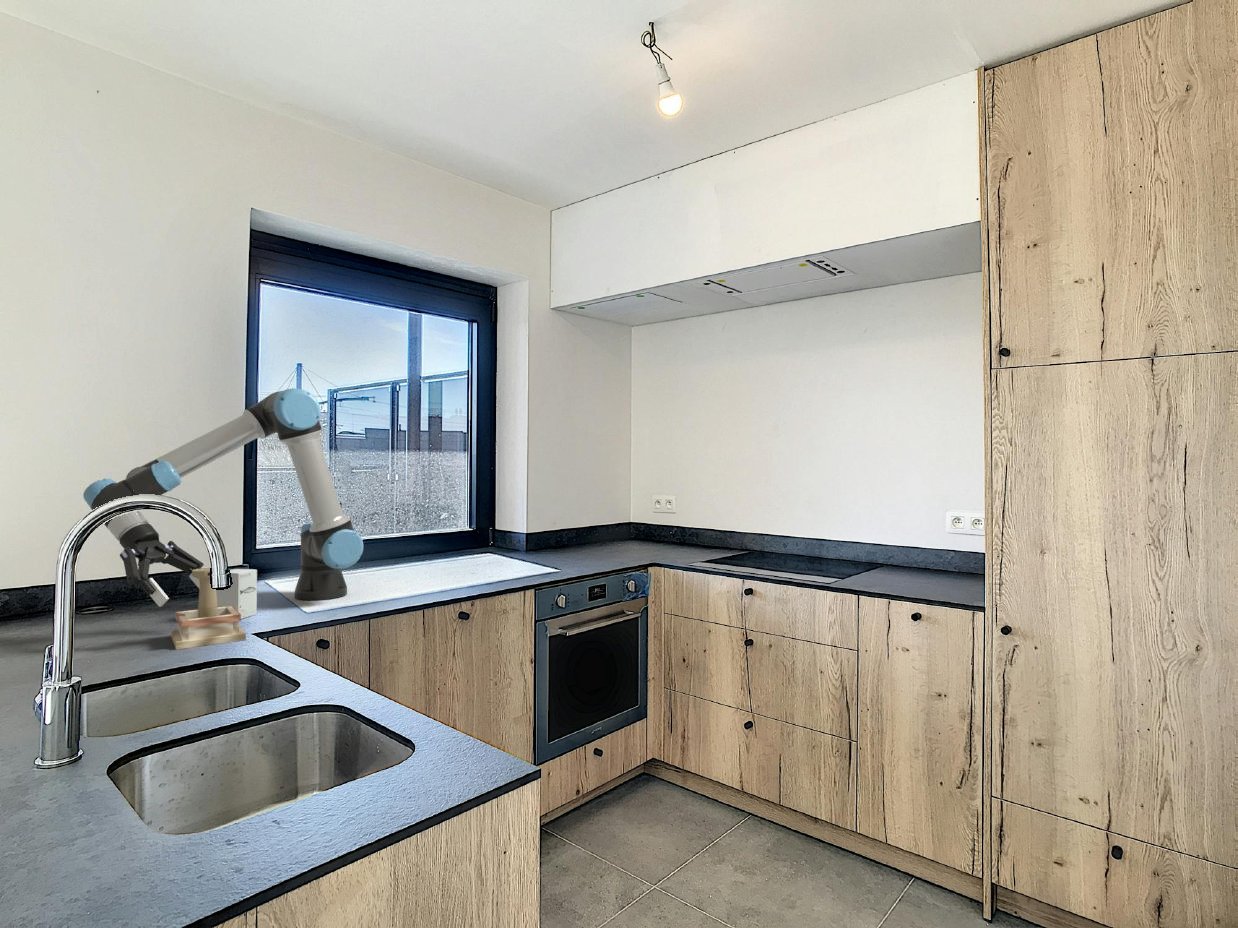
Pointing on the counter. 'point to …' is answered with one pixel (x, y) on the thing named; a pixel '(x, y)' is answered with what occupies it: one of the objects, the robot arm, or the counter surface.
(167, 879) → the counter surface
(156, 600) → the robot arm
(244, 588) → the supplement box
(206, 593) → the handle
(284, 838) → the counter surface
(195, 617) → the board
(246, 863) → the counter surface
